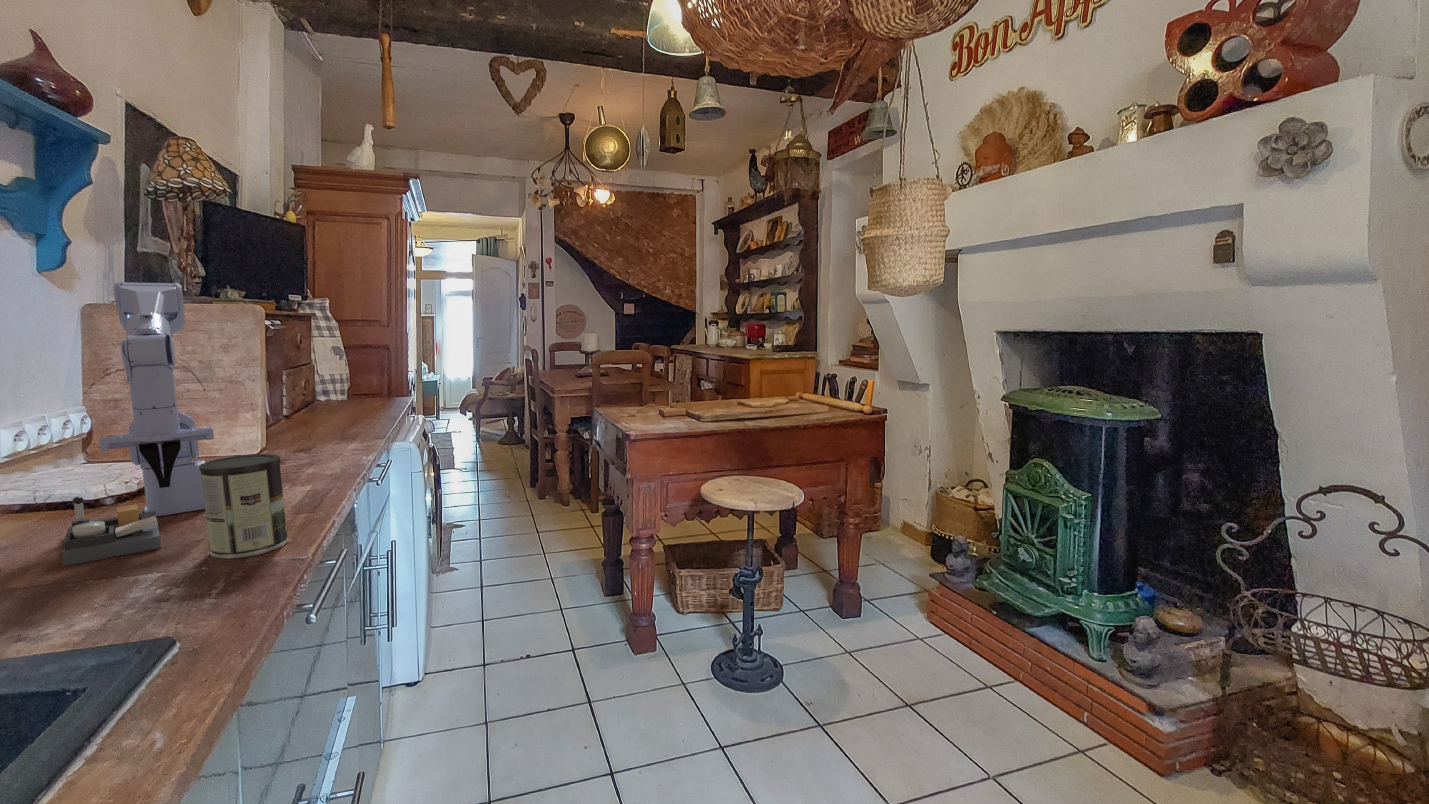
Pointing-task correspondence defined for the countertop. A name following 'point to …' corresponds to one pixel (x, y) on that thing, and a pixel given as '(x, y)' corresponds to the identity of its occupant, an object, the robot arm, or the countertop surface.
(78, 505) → the lever
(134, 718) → the countertop surface
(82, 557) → the console
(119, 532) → the beige flat panel
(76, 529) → the button
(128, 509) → the slider
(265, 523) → the coffee can
